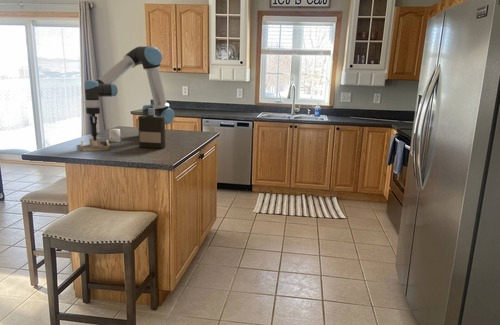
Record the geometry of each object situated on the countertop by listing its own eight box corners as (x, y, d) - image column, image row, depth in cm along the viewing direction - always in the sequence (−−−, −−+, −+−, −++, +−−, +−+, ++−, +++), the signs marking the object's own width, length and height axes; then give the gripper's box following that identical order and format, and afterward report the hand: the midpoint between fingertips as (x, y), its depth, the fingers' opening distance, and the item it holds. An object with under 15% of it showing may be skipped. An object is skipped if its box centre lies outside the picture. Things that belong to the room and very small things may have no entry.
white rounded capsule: (109, 140, 247) (108, 128, 245) (120, 139, 250) (119, 128, 248) (110, 142, 241) (109, 130, 239) (121, 141, 244) (120, 130, 242)
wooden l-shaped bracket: (81, 144, 231) (80, 141, 230) (108, 143, 238) (108, 140, 237) (80, 151, 213) (80, 147, 213) (110, 149, 220) (110, 146, 219)
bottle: (142, 145, 236) (140, 107, 229) (166, 146, 235) (165, 108, 229) (138, 148, 228) (136, 108, 222) (163, 149, 228) (162, 109, 221)
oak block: (90, 144, 231) (89, 137, 230) (100, 144, 234) (99, 136, 232) (90, 146, 226) (89, 139, 225) (100, 146, 228) (99, 138, 227)
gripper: (85, 105, 219) (88, 143, 225) (86, 108, 207) (88, 148, 213) (99, 105, 222) (101, 143, 228) (100, 108, 210) (102, 147, 216)
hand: (95, 145), depth 220 cm, fingers closed
